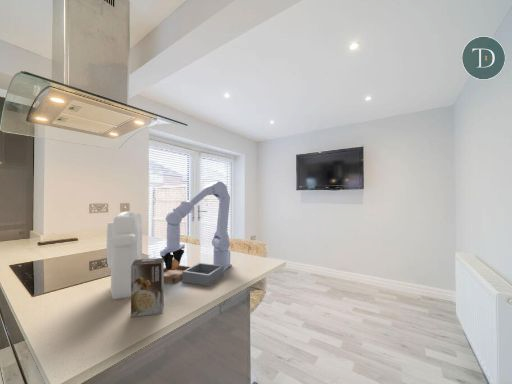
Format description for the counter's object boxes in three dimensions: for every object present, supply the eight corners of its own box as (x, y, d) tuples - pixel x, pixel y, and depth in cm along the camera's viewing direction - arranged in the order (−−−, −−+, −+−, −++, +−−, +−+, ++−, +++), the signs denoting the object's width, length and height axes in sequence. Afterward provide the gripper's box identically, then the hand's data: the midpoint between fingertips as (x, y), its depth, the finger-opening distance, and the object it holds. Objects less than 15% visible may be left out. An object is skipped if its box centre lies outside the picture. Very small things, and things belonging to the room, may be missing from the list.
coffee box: (164, 304, 77) (165, 257, 77) (161, 314, 71) (162, 263, 71) (134, 307, 75) (135, 259, 75) (129, 318, 69) (130, 265, 69)
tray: (172, 269, 113) (172, 264, 113) (194, 272, 109) (194, 267, 109) (149, 279, 99) (149, 274, 99) (173, 284, 95) (173, 278, 95)
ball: (172, 267, 107) (172, 257, 107) (180, 269, 105) (181, 258, 105) (164, 271, 102) (164, 260, 102) (173, 272, 101) (173, 261, 101)
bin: (199, 272, 109) (199, 262, 109) (223, 275, 105) (223, 265, 105) (182, 282, 97) (182, 271, 97) (208, 286, 93) (209, 275, 93)
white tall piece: (115, 278, 100) (116, 210, 101) (143, 275, 104) (144, 210, 104) (96, 307, 75) (97, 216, 75) (134, 301, 79) (135, 215, 79)
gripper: (176, 234, 112) (176, 262, 112) (154, 240, 98) (154, 271, 98) (188, 235, 110) (188, 263, 110) (167, 241, 96) (167, 273, 96)
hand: (172, 267), depth 104 cm, fingers closed on ball, 5 cm apart
